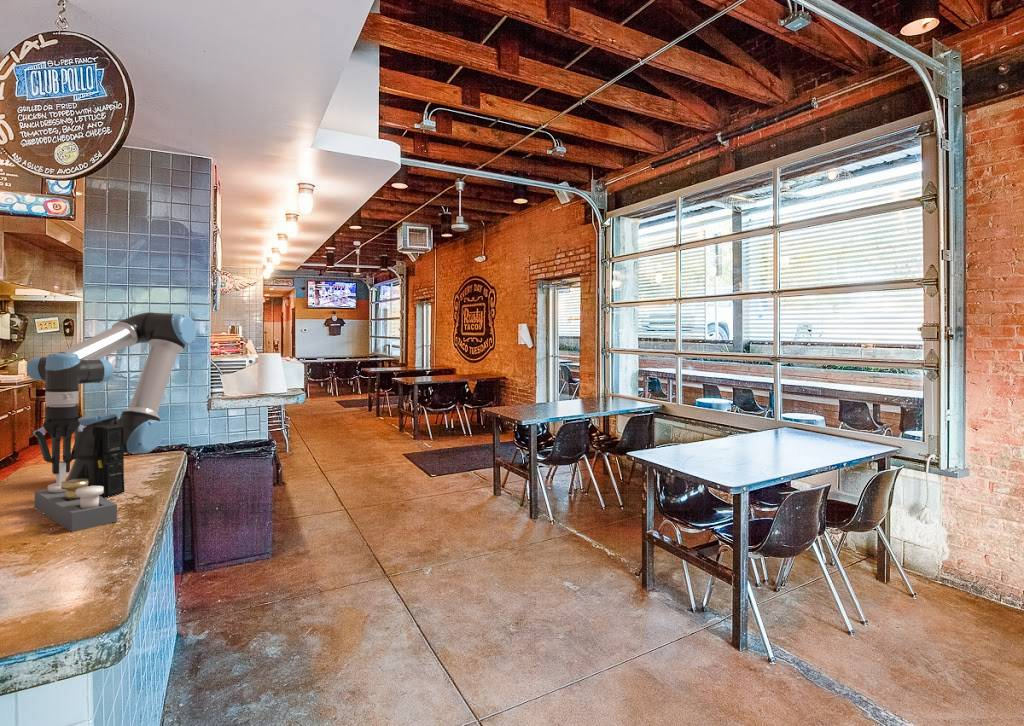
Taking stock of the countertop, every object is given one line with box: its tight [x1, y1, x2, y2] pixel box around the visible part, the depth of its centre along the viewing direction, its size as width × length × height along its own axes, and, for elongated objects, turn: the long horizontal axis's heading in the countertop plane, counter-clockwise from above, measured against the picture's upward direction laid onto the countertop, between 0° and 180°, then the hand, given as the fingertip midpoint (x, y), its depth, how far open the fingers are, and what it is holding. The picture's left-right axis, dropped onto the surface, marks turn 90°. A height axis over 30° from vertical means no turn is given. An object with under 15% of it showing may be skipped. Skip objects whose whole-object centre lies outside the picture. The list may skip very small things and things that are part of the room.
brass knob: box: [61, 479, 88, 501], centre depth 150 cm, size 6×6×6 cm
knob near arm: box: [47, 482, 66, 501], centre depth 157 cm, size 6×6×6 cm
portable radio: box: [92, 417, 125, 498], centre depth 169 cm, size 8×6×25 cm
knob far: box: [76, 485, 104, 510], centre depth 144 cm, size 6×6×6 cm
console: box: [34, 488, 118, 532], centre depth 151 cm, size 10×30×5 cm, turn 56°
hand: (60, 484), depth 156 cm, fingers closed
